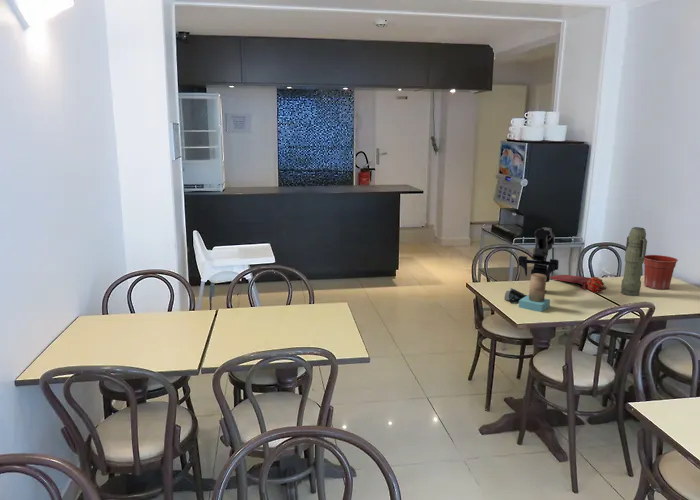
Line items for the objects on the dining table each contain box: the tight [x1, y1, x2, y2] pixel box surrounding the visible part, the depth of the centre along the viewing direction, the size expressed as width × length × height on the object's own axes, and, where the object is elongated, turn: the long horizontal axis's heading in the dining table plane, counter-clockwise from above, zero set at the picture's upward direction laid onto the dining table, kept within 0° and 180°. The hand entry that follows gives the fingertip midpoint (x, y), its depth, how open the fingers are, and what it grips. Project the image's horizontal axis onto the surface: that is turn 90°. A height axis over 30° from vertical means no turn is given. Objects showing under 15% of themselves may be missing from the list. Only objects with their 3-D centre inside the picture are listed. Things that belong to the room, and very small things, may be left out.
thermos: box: [620, 226, 648, 297], centre depth 282 cm, size 9×12×35 cm
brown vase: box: [528, 273, 547, 302], centre depth 260 cm, size 7×7×12 cm
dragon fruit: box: [586, 276, 608, 294], centre depth 287 cm, size 8×8×12 cm
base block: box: [518, 294, 551, 313], centre depth 262 cm, size 11×11×4 cm
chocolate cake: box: [503, 287, 528, 305], centre depth 272 cm, size 10×7×12 cm
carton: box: [550, 274, 592, 291], centre depth 304 cm, size 12×5×25 cm
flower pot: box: [643, 254, 679, 290], centre depth 297 cm, size 16×16×16 cm
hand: (535, 277), depth 265 cm, fingers open, 9 cm apart
